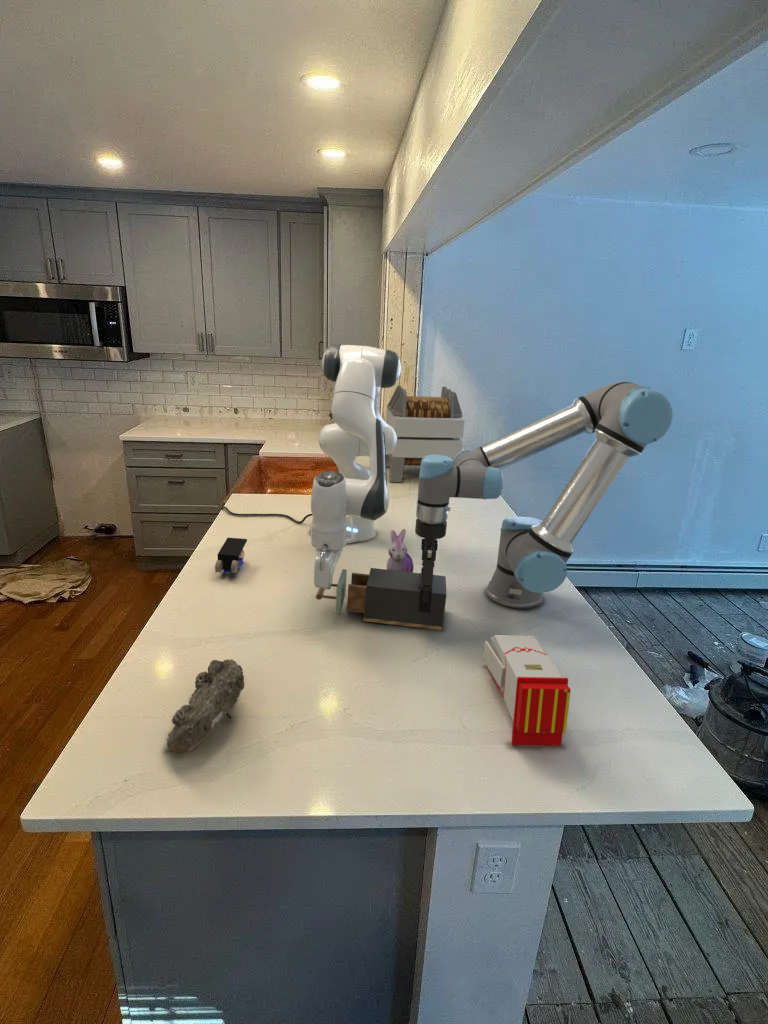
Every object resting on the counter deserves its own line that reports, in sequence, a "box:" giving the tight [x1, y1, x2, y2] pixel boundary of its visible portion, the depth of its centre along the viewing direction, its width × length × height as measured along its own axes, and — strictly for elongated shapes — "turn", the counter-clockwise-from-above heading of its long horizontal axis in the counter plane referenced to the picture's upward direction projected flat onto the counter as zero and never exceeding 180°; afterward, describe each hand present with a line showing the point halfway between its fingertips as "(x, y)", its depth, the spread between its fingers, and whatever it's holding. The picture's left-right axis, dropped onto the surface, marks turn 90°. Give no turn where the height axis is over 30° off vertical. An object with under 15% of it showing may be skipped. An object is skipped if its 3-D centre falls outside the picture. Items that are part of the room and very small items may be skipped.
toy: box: [482, 634, 572, 747], centre depth 115 cm, size 12×13×30 cm
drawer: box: [315, 568, 369, 614], centre depth 145 cm, size 24×9×8 cm, turn 85°
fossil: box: [166, 658, 245, 754], centre depth 106 cm, size 22×10×15 cm
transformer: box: [385, 384, 465, 483], centre depth 268 cm, size 34×33×41 cm
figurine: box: [386, 528, 415, 573], centre depth 164 cm, size 9×10×15 cm
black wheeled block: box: [214, 537, 248, 578], centre depth 166 cm, size 7×8×15 cm
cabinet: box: [363, 567, 447, 631], centre depth 145 cm, size 20×10×10 cm, turn 85°
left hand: (328, 586), depth 146 cm, fingers closed
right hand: (424, 600), depth 144 cm, fingers closed on cabinet, 10 cm apart
